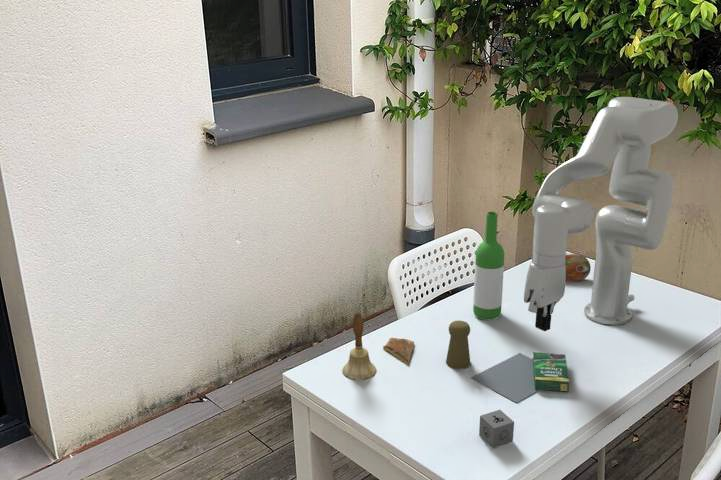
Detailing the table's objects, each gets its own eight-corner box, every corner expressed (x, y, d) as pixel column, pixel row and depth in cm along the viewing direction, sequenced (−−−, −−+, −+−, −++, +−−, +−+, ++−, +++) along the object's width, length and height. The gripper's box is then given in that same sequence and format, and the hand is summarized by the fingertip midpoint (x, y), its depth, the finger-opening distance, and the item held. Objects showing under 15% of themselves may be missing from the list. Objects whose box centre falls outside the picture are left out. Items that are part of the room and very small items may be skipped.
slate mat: (519, 353, 192) (519, 352, 192) (565, 375, 182) (565, 375, 182) (470, 378, 182) (470, 377, 181) (516, 403, 171) (516, 402, 171)
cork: (456, 354, 192) (457, 315, 188) (475, 362, 188) (477, 322, 184) (440, 362, 188) (442, 323, 184) (460, 371, 184) (461, 331, 180)
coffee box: (567, 353, 186) (570, 382, 174) (566, 363, 187) (569, 392, 175) (533, 350, 187) (534, 378, 175) (532, 361, 188) (533, 389, 176)
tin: (538, 279, 234) (540, 254, 231) (538, 275, 237) (540, 250, 234) (589, 282, 232) (592, 256, 229) (588, 278, 234) (590, 252, 231)
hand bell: (370, 382, 181) (370, 322, 175) (337, 377, 183) (336, 317, 177) (380, 364, 188) (380, 306, 182) (348, 360, 190) (347, 302, 185)
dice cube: (492, 448, 156) (494, 428, 154) (479, 435, 160) (480, 415, 159) (512, 442, 158) (514, 421, 156) (498, 429, 163) (499, 409, 161)
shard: (408, 366, 188) (408, 360, 187) (378, 364, 189) (378, 357, 189) (415, 345, 198) (415, 339, 197) (386, 343, 199) (386, 336, 199)
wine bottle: (487, 323, 207) (493, 220, 196) (467, 313, 213) (471, 212, 202) (506, 315, 212) (513, 213, 201) (486, 305, 217) (491, 206, 207)
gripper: (555, 245, 183) (549, 314, 190) (514, 261, 174) (509, 332, 181) (581, 254, 178) (574, 324, 184) (541, 271, 169) (535, 344, 175)
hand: (542, 328), depth 183 cm, fingers closed
